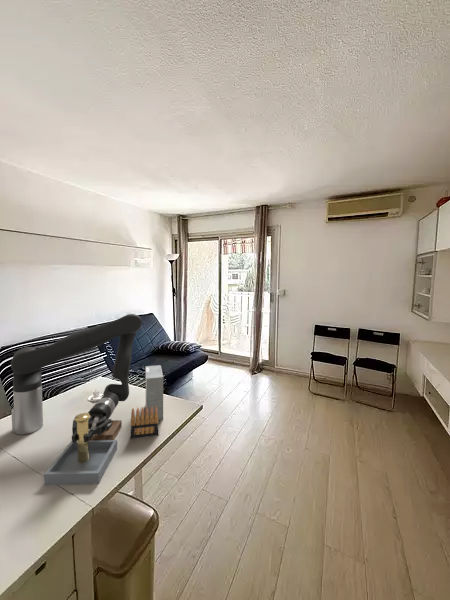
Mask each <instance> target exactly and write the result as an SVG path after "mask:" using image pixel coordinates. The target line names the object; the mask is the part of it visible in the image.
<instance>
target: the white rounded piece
mask: <svg viewBox="0 0 450 600" xmlns="http://www.w3.org/2000/svg"><path fill="white" fill-rule="evenodd" d="M100 390H101V389H93V390H92V395H90V396H88V398H87V400H88V401H90V402H98V401H99V400H100V399H101V398H102V397H100V396H102V395H103V394H104V393H100ZM92 397H93V398H92ZM91 398H92V399H91Z"/></svg>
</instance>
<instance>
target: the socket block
mask: <svg viewBox="0 0 450 600" xmlns="http://www.w3.org/2000/svg"><path fill="white" fill-rule="evenodd" d="M111 420H112V419H111ZM122 422H123V421H122V420H121V419H117V420H116V419H115V420H112V426H111V427H110V428H108V429H107V430H106V431H104V432H103V433H101V434H100V435H97V434H95V435H94V436H92V438H91V439H90V440H116V437H117V435H118V434H119V432H120V431H121V429H122V426H123V425H122ZM89 430H91V429H89ZM101 430H102V428H101Z"/></svg>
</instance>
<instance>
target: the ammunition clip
mask: <svg viewBox="0 0 450 600" xmlns="http://www.w3.org/2000/svg"><path fill="white" fill-rule="evenodd" d="M140 409H141V410H140ZM140 409H139V407H137V408H136V412H135V409H134V407H132V408H131V413H130V414H131V415H130V416H131V417H130V437H129V438H130V439H138V438H147V437H156V436H159V420H158V409H157V406H156V407H155V413H154V415H153V407H152V406H151V409H150V420H149V410H148V407H146V406H145V409H144V407H143V406H141V408H140ZM135 414H136V415H135Z"/></svg>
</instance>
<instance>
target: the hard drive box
mask: <svg viewBox="0 0 450 600" xmlns="http://www.w3.org/2000/svg"><path fill="white" fill-rule="evenodd" d="M151 406H152V407H153V415H154V413H155V407H156V406H157V409H158V421H159V420H163V419H164V373H163V370H162V365H160V364H159V365H157V364H156V365H148V366H147V365H146V366H145V408H146V407H148V410H149V420H150V409H151Z"/></svg>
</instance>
